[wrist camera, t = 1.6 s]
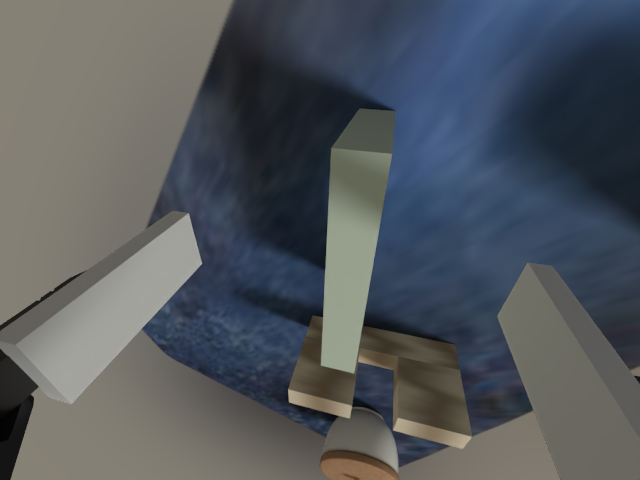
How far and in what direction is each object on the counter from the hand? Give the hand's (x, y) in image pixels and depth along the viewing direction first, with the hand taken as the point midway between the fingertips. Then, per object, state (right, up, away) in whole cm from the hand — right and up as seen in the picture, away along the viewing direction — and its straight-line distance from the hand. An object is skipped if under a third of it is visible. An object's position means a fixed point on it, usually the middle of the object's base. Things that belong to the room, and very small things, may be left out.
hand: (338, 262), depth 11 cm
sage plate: (+3, +3, +13) cm, 13 cm away
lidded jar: (+6, -27, +33) cm, 43 cm away
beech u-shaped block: (+6, -10, +21) cm, 24 cm away
